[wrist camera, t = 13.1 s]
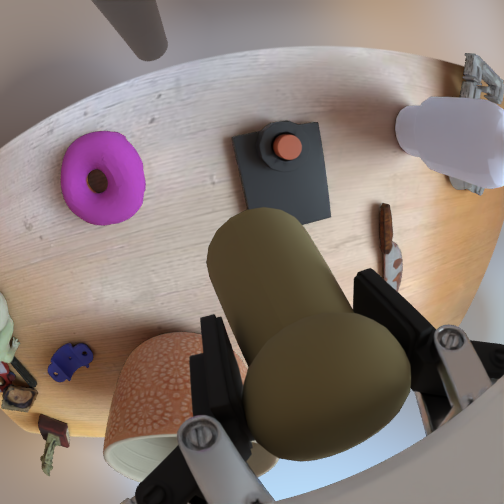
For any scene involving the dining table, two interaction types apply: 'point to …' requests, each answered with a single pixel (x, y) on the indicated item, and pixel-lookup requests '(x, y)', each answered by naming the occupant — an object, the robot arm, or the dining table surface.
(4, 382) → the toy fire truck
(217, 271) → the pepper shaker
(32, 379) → the folding knife
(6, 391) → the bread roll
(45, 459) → the small statue on base
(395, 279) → the kitchen knife
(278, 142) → the button
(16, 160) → the dining table surface
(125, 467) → the planter
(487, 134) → the soap bottle
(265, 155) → the push button panel
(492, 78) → the architectural model
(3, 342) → the figurine
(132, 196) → the donut
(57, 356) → the bracket
